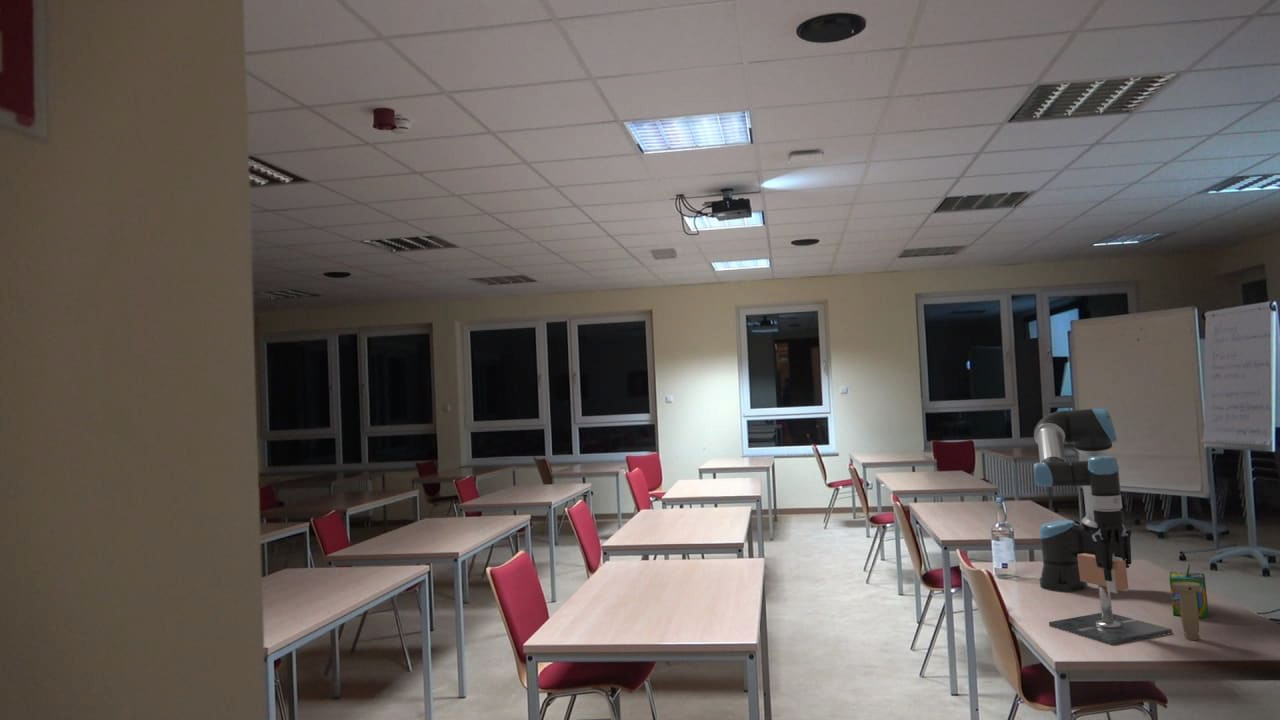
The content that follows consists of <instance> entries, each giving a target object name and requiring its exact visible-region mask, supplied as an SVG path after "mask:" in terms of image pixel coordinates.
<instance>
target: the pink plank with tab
mask: <svg viewBox="0 0 1280 720" xmlns="http://www.w3.org/2000/svg"><path fill="white" fill-rule="evenodd" d="M1077 557H1078V566H1079V575H1080V581H1082V582H1087V584H1092V585H1095V586H1098V585H1100V586H1105V587H1107V585H1106V580H1105V577H1104V570H1103V569H1102V568H1100V567H1097V564H1096V558H1095V555H1092V554H1086V553H1083V554H1077ZM1112 569H1113V570H1115V577H1116V586H1117V589H1118V590H1117V591H1121V590H1123V589H1127V590H1128V589H1129V582H1128V572H1127V568H1126V563H1125V560H1122V558H1119V557H1112Z"/></svg>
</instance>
